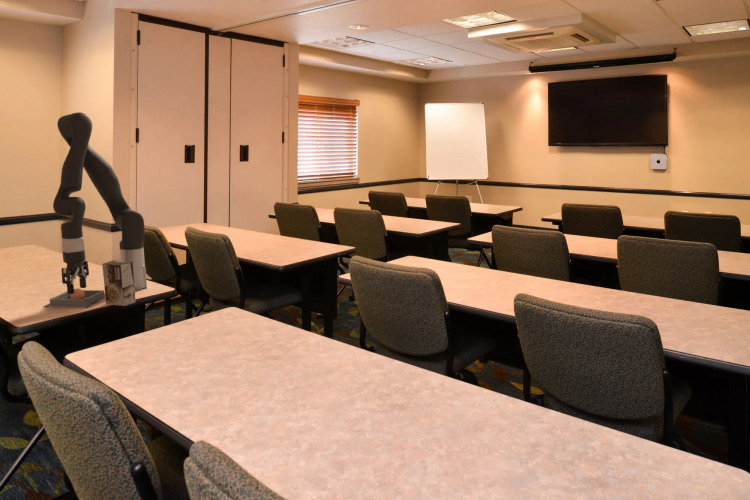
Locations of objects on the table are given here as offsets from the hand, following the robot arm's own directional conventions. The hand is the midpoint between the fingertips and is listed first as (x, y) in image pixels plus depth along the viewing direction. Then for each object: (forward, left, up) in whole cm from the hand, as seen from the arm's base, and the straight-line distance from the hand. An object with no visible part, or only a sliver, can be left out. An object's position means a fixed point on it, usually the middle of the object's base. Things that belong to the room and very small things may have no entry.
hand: (77, 290), depth 213 cm
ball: (0, 0, -2) cm, 2 cm away
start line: (+7, -4, -5) cm, 9 cm away
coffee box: (-14, +8, -5) cm, 17 cm away
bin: (0, 0, -5) cm, 5 cm away
